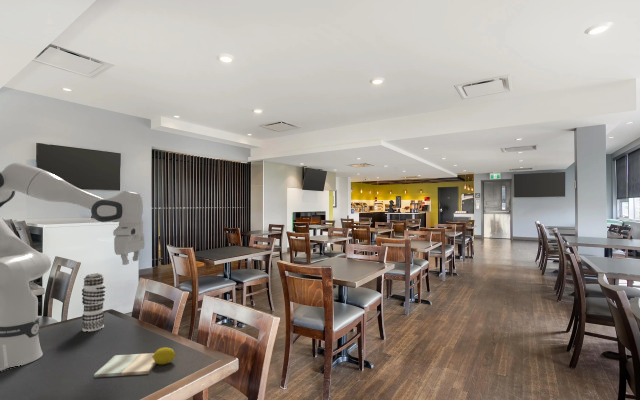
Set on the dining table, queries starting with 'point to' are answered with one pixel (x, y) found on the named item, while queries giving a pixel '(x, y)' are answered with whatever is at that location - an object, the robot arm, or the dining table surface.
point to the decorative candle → (93, 302)
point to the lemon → (164, 355)
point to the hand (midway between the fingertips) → (130, 262)
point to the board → (127, 365)
